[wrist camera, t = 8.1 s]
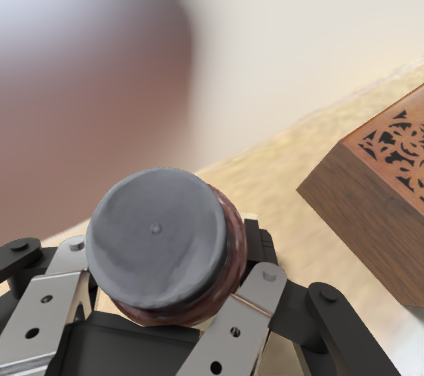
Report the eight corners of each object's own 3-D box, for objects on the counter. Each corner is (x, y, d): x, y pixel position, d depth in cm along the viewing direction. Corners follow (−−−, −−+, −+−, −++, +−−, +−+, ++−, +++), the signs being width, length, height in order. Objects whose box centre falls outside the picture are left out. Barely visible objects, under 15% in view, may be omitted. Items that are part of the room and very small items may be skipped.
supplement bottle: (240, 231, 17) (277, 155, 7) (226, 315, 15) (252, 399, 4) (168, 216, 18) (101, 126, 7) (145, 295, 15) (-4, 327, 5)
